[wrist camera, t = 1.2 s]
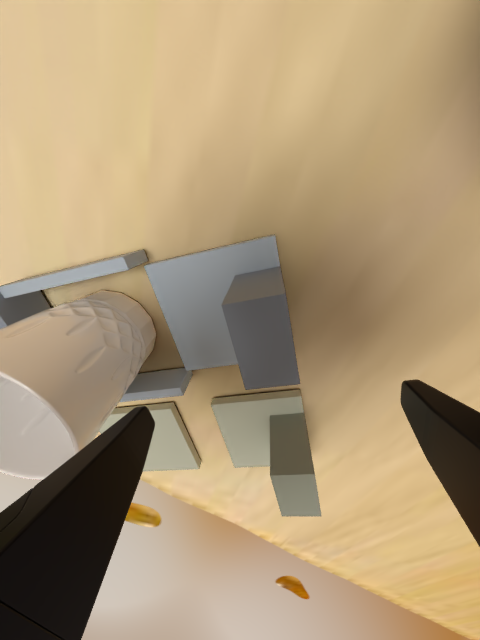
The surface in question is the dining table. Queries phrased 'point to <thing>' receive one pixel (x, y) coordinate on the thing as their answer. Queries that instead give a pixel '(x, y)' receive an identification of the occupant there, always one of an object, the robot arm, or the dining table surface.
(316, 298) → the dining table surface
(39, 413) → the white cup
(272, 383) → the blue-grey angular bracket
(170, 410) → the broken strip
